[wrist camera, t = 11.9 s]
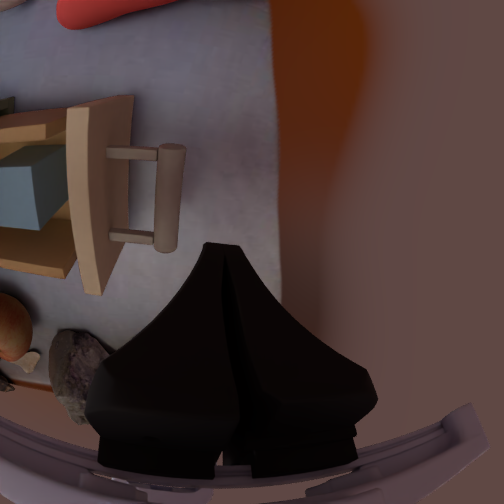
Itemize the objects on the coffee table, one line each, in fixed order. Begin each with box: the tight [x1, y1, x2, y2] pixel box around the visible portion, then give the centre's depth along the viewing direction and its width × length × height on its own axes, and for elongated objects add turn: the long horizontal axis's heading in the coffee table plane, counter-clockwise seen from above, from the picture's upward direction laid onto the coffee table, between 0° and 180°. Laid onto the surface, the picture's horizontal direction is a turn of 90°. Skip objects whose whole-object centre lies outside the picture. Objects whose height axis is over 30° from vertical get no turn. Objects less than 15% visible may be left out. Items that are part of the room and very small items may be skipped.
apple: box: [0, 293, 33, 362], centre depth 21 cm, size 8×8×8 cm
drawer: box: [0, 95, 186, 296], centre depth 14 cm, size 17×10×7 cm, turn 79°
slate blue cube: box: [0, 144, 69, 230], centre depth 13 cm, size 4×4×4 cm
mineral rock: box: [49, 330, 110, 425], centre depth 26 cm, size 13×11×10 cm
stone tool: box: [11, 352, 40, 374], centre depth 29 cm, size 5×1×10 cm
